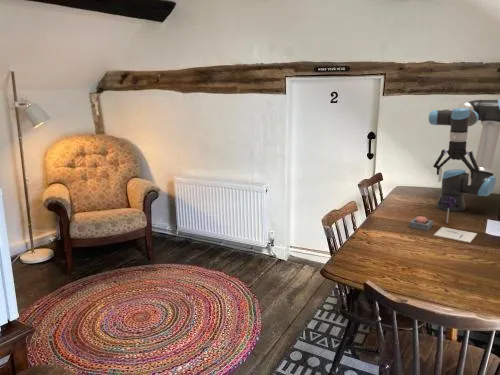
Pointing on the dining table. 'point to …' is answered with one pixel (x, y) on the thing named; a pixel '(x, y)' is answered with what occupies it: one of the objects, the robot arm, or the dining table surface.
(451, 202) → the lollipop
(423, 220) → the button
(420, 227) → the button housing
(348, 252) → the dining table surface
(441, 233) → the paper pad
